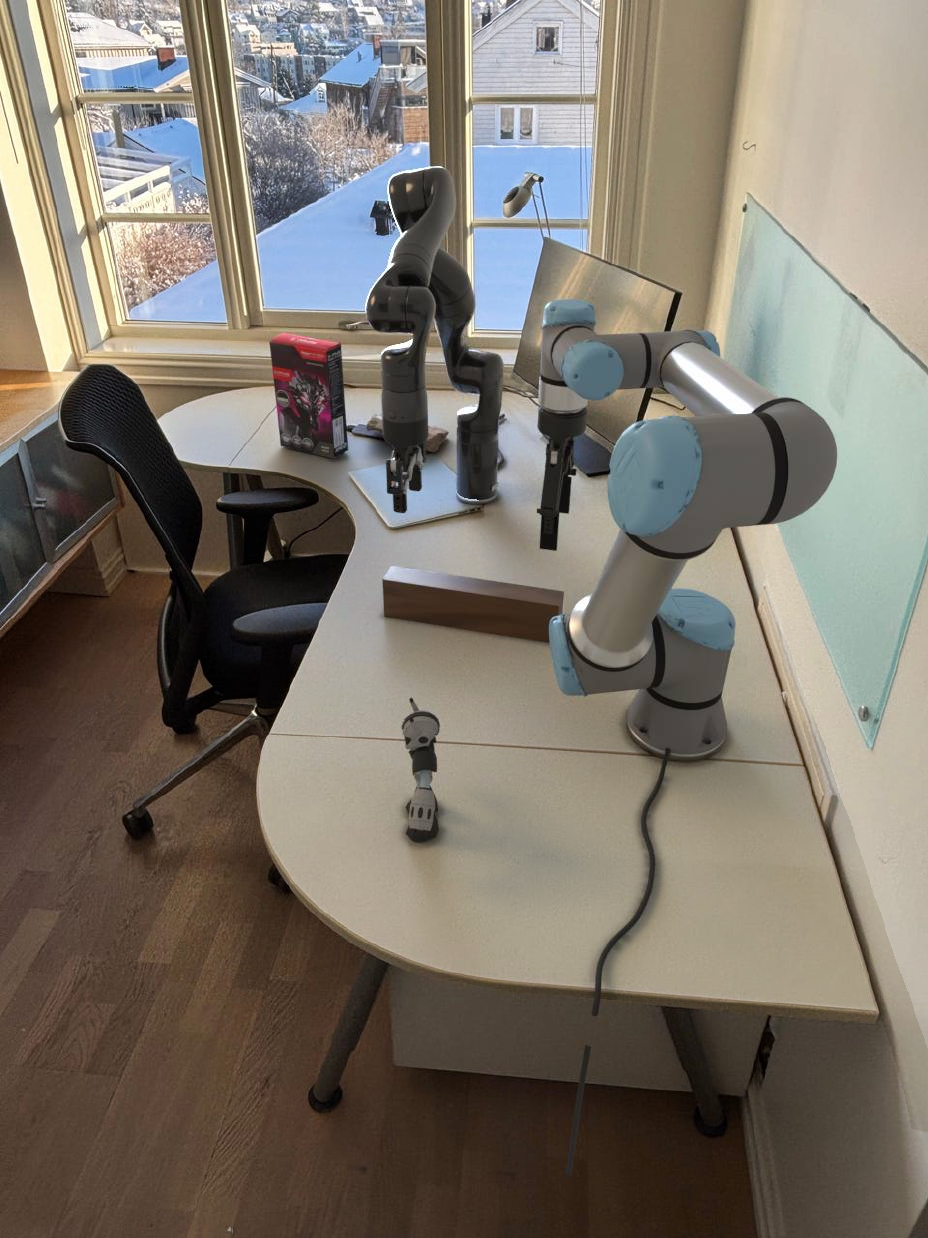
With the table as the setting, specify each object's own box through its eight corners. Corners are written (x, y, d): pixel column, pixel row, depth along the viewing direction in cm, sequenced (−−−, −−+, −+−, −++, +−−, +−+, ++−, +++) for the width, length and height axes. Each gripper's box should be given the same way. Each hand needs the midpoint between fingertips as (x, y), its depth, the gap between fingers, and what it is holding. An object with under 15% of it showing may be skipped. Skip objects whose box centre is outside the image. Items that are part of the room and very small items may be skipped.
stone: (350, 435, 230) (355, 412, 228) (372, 427, 244) (376, 405, 241) (428, 460, 227) (434, 436, 224) (446, 450, 240) (451, 427, 238)
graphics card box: (278, 447, 232) (266, 338, 217) (294, 437, 237) (284, 331, 222) (334, 460, 225) (326, 350, 210) (350, 450, 230) (343, 341, 215)
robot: (442, 875, 119) (441, 760, 108) (404, 877, 119) (400, 761, 107) (438, 770, 135) (437, 660, 124) (405, 771, 135) (401, 661, 124)
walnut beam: (556, 644, 162) (558, 606, 158) (384, 616, 169) (382, 579, 165) (561, 628, 166) (564, 591, 162) (392, 602, 173) (391, 565, 169)
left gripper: (413, 430, 144) (416, 522, 153) (439, 398, 155) (440, 485, 164) (368, 426, 145) (373, 517, 155) (396, 394, 157) (400, 480, 166)
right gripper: (576, 438, 130) (566, 568, 142) (597, 382, 151) (586, 500, 162) (524, 433, 132) (518, 562, 143) (551, 378, 152) (544, 495, 164)
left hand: (408, 500), depth 160 cm, fingers open, 8 cm apart
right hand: (554, 529), depth 153 cm, fingers open, 13 cm apart
